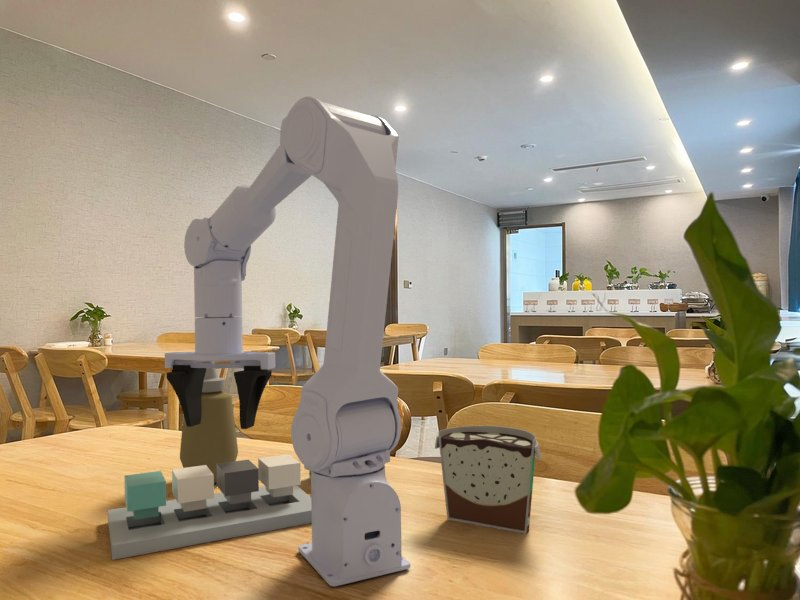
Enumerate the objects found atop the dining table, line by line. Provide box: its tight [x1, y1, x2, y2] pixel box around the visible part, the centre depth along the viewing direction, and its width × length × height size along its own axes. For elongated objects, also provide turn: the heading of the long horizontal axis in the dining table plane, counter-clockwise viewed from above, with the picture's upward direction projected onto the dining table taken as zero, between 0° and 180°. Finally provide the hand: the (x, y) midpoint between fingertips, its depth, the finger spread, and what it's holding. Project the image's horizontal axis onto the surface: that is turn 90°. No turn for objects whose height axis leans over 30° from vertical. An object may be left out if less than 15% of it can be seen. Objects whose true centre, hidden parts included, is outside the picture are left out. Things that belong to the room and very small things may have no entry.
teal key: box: [124, 470, 167, 520], centre depth 67 cm, size 5×4×4 cm
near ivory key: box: [257, 453, 302, 497], centre depth 74 cm, size 5×4×4 cm
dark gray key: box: [216, 459, 260, 504], centre depth 71 cm, size 5×4×4 cm
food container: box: [434, 425, 542, 535], centre depth 70 cm, size 12×6×10 cm, turn 59°
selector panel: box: [107, 485, 312, 561], centre depth 70 cm, size 12×22×1 cm, turn 117°
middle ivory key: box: [171, 465, 215, 512], centre depth 69 cm, size 5×4×4 cm
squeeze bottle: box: [179, 361, 239, 484], centre depth 87 cm, size 8×8×18 cm
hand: (220, 426), depth 76 cm, fingers open, 7 cm apart
